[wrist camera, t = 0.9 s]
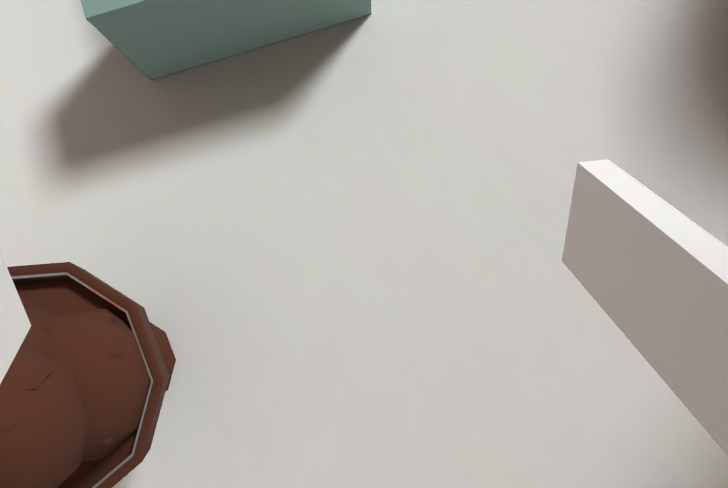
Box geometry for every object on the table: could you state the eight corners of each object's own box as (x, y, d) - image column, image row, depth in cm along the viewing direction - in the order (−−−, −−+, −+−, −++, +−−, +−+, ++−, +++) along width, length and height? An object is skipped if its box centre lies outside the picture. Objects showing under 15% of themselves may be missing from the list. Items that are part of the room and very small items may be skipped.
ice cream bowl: (239, 291, 34) (132, 290, 19) (190, 481, 34) (38, 632, 19) (68, 249, 35) (-165, 216, 20) (16, 435, 34) (-269, 547, 19)
